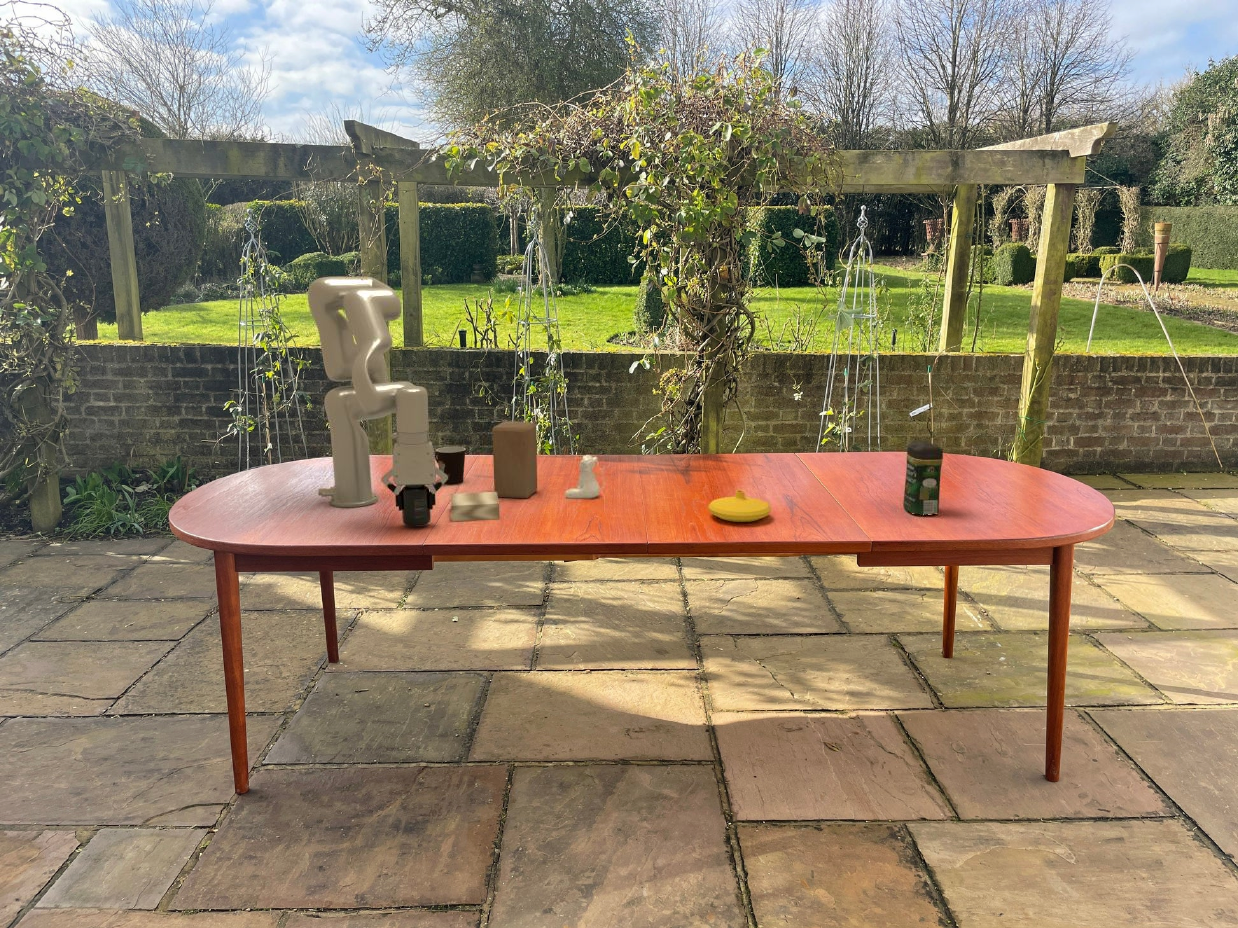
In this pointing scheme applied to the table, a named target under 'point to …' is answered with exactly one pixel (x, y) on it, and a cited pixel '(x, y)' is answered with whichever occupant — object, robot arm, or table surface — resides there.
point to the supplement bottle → (415, 505)
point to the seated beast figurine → (585, 480)
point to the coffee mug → (451, 463)
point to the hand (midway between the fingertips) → (416, 508)
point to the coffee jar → (923, 478)
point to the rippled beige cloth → (474, 506)
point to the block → (515, 459)
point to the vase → (739, 508)
